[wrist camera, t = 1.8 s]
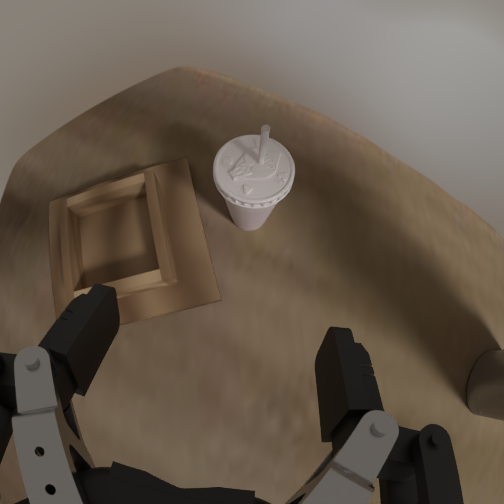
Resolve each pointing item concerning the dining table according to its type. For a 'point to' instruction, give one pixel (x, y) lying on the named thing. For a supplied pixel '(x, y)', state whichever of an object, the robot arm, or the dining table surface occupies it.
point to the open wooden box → (133, 243)
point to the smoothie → (253, 177)
